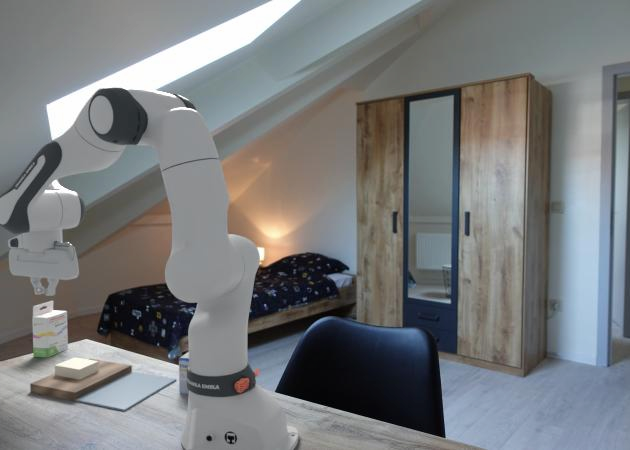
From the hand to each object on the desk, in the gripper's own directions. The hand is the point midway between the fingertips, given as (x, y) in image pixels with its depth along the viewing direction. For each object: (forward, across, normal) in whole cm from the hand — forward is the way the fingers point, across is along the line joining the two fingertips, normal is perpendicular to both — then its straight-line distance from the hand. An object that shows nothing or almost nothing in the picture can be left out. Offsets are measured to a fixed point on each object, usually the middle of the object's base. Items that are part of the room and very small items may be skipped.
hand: (45, 294), depth 122 cm
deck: (+21, -12, 0) cm, 24 cm away
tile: (+19, -10, 0) cm, 22 cm away
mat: (+21, -26, 0) cm, 33 cm away
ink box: (+21, +14, -13) cm, 29 cm away
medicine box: (+21, -40, -7) cm, 46 cm away
